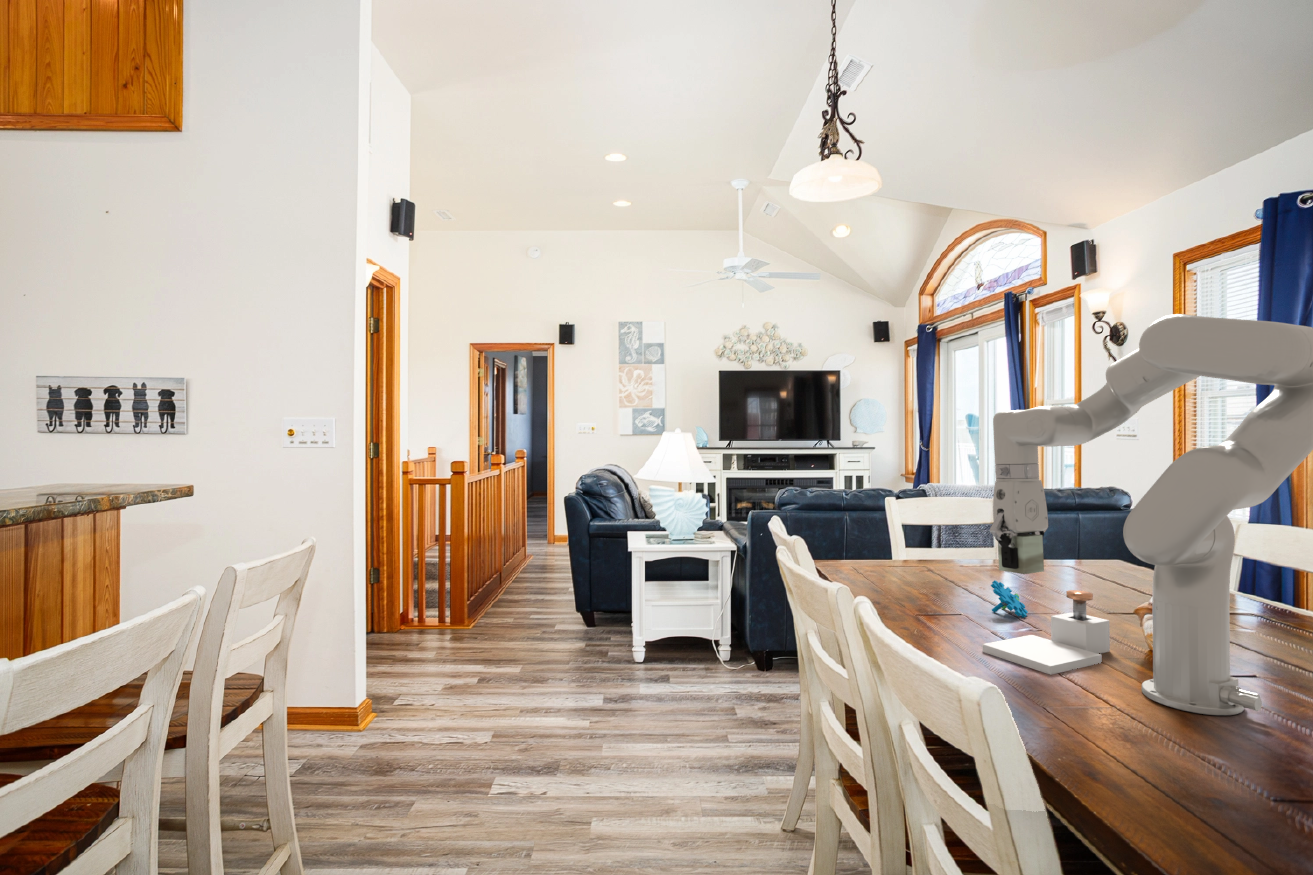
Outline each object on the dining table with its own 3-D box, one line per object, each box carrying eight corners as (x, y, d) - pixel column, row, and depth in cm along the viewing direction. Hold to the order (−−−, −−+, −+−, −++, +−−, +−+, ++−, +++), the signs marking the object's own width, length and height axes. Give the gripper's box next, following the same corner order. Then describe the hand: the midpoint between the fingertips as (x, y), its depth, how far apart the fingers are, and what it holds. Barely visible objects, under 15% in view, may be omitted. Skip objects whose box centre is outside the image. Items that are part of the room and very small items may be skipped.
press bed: (1128, 656, 126) (1128, 624, 126) (1050, 674, 117) (1050, 640, 117) (1057, 636, 139) (1057, 607, 139) (982, 651, 130) (982, 620, 130)
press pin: (1098, 624, 130) (1098, 593, 130) (1083, 627, 128) (1083, 596, 128) (1076, 619, 134) (1075, 589, 134) (1061, 621, 132) (1061, 591, 132)
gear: (1020, 615, 150) (989, 578, 156) (1000, 630, 152) (969, 594, 158) (1037, 612, 157) (1006, 578, 163) (1017, 627, 160) (988, 592, 166)
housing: (1044, 571, 129) (1042, 532, 129) (1024, 574, 126) (1022, 535, 127) (1018, 567, 134) (1016, 530, 134) (999, 570, 131) (997, 532, 132)
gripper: (1002, 475, 124) (1007, 573, 123) (1064, 472, 131) (1069, 565, 130) (969, 474, 131) (973, 567, 130) (1029, 471, 138) (1033, 560, 137)
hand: (1021, 565), depth 130 cm, fingers closed on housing, 5 cm apart
